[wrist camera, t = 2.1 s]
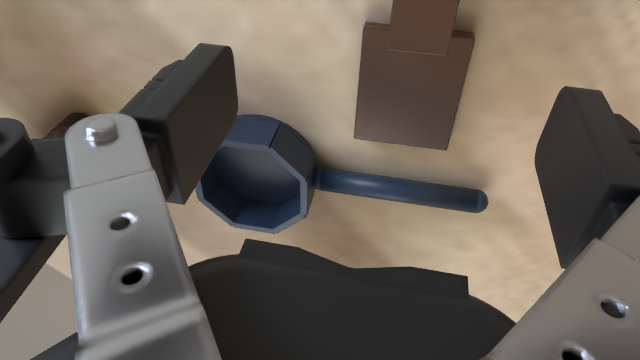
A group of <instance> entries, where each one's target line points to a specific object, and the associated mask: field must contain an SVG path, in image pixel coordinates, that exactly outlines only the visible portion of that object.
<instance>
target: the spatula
mask: <svg viewBox="0 0 640 360" xmlns="http://www.w3.org/2000/svg"><path fill="white" fill-rule="evenodd" d="M458 5H459V0H393V4H392V12H391V20H390V25H389V24H378V23H368V22H366V23H365V24H364V28H363V37H362V49H361V61H360V72H359V84H358V96H357V107H356V119H355V131H354V138H355V139H361V140H369V141H377V142H384V143H392V144H400V145H407V146H415V147H423V148H430V149H438V150H447V148H448V144H449V140H450V136H451V132H452V128H453V124H454V120H455V116H456V112H457V108H458V104H459V100H460V96H461V92H462V88H463V84H464V80H465V76H466V73H467V69H468V65H469V61H470V57H471V53H472V49H473V45H474V41H475V37H474V33H471V32H461V31H453V28H454V23H455V19H456V14H457V9H458Z"/></svg>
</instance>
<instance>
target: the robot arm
mask: <svg viewBox="0 0 640 360" xmlns="http://www.w3.org/2000/svg"><path fill="white" fill-rule="evenodd" d="M237 110H238V97H237V87H236V77H235V67H234V57H233V52H232V49H231V48H230V47H229V46H222V45H213V44H204V43H200V44H198V45H197V46H196V47H195V48H194V50H193V51H192V52H191V53H190V54H189V55H188V56H187V57H186V58H185V59H184V60H178V61H176V62H174V63H172V64H170V65H168V66H166V67H164V68H162V69H161V70H160V71H159V72H158V73H157V74H156V75H155V76H154V77H153V78H152V81H151V80H150V81H149V82H148V83H147V84H146V85H145V86H144V89H141V90H140V91H139V92H138V93H137V94H136V95H135V96H134V97H133V98H132V99H131V100H130V101H129V102H128V103H127V104H126V105H125V107H124V108H123V109H122V110H121V111H120V112H119V113H102V114H97V115H93V116H89V117H87V118H84V119H82V120H80V121H78V122H76V123H75V124H74V125H72V126H71V127H70V128H69V129H68V130H67V132H66V134H65V138H50V139H33V140H30V138H29V135H28V133H27V131H26V129H25V127H24V125H23V124H22V123H21V122H20V121H18V120H15V119H10V118H0V323H1V321H2V320H3V319H4V317H5V316H6V315H7V313H8V312H9V311H10V309H11V308H12V306H13V305H14V304H15V303H16V301H17V300H18V299H19V297H20V296H21V295H22V293H23V292H24V291H25V289H26V288H27V287H28V285H29V284H30V283H31V281H32V280H33V279H34V277H35V276H36V274H37V273H38V272H39V271H40V269H41V268H42V267H43V265H44V264H45V263H46V261H47V260H48V259H49V257H50V256H51V255H52V253H53V252H54V251H55V249H56V248H57V247H58V245H59V244H60V243H61V241H62V240H63V239H64V237H65V236H66V234H67V235H68V245H69V254H70V264H71V273H72V282H73V290H74V291H73V292H74V301H75V311H76V320H77V330H78V332H76V333H74V334H73V335H71V336H69V337H68V338H66V339H64V340H62V341H61V342H59V343H57V344H56V345H54V346H52V347H51V348H49V349H47V350H46V351H44V352H42V353H41V354H39V355H37V356H35V357H34V358H32V359H30V360H640V132H639V130H638V128H637V127H635V126H634V125H633V124H632V123H630V122H629V121H628V120H627V119H625V118H624V117H623V116H622V115H620V114H614V113H613V112H612V110H611V108H610V106H609V104H608V102H607V100H606V99H605V97H604V95H603V93H602V92H601V91H600V90H593V89H584V88H576V87H567V86H565V87H563V88H562V89H561V91H560V92H559V94H558V96H557V98H556V100H555V103H554V105H553V108H552V110H551V112H550V115H549V117H548V120H547V122H546V124H545V127H544V129H543V132H542V134H541V136H540V139H539V141H538V144H537V148H536V153H535V168H536V172H537V176H538V180H539V184H540V187H541V191H542V195H543V199H544V203H545V207H546V211H547V215H548V219H549V223H550V226H551V230H552V234H553V238H554V242H555V246H556V250H557V254H558V258H559V262H560V265H561V268H564V269H566V270H565V271H564V272H563V273H562V274H561V275H560V276H559V277H558V278H557V280H556V281H555V282H554V283H553V284H552V285H551V286H550V287H549V288H548V289H547V291H546V292H545V293H544V294H543V295H542V296H541V297H540V298H539V299H538V300H537V301H536V303H535V304H534V305H533V306H532V307H531V308H530V309H529V310H528V311H527V312H526V314H525V315H524V316H523V317H522V318H521V319H520V320H519V321H518V322H517V323H515V322H514V321H513V320H511V319H510V318H509V317H508V316H506V315H505V314H504V313H502V312H501V311H499V310H498V309H496V308H494V307H493V306H491V305H490V304H488V303H486V302H484V301H482V300H480V299H478V298H476V297H473V296H471V295H469V292H468V276H463V275H457V274H451V273H445V272H439V271H433V270H427V269H422V268H416V267H385V268H349V267H346V266H343V265H341V264H338V263H336V262H333V261H331V260H328V259H326V258H323V257H321V256H318V255H316V254H313V253H311V252H308V251H306V250H303V249H301V248H298V247H293V246H287V245H281V244H275V243H270V242H264V241H258V240H252V239H245V242H244V244H243V246H242V249H241V251H240V253H239V254H237V255H227V256H220V257H216V258H211V259H207V260H204V261H202V262H199V263H196V264H193V265H191V266H189V267H188V265H187V262H186V259H185V256H184V253H183V250H182V248H181V245H180V242H179V239H178V236H177V233H176V230H175V227H174V224H173V221H172V218H171V216H170V213H169V210H168V207H167V204H166V202H171V203H177V204H183V205H185V203H186V201H187V200H188V198H189V196H190V195H191V193H192V192H193V190H194V188H195V187H196V185H197V183H198V182H199V180H200V178H201V177H202V175H203V174H204V172H205V170H206V169H207V167H208V165H209V164H210V162H211V161H212V159H213V157H214V156H215V154H216V152H217V151H218V149H219V147H220V146H221V144H222V143H223V141H224V139H225V138H226V136H227V134H228V133H229V131H230V129H231V128H232V126H233V125H234V123H235V120H236V116H237Z"/></svg>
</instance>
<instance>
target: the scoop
mask: <svg viewBox="0 0 640 360" xmlns="http://www.w3.org/2000/svg"><path fill="white" fill-rule="evenodd" d="M195 189H196V194H197V198H198V199H199V201H200V202H202V203H203V204H204V205H205V206H207V207H208V208H209V209H210V210H212V211H213V212H214V213H215V214H217V215H218V216H219V217H220V218H222V219H223V220H224V221H225V222H227V223H228V224H229V225H230V226H233V227H235V228H241V229H247V230H253V231H259V232H266V233H272V234H275V233H279V232H280V231H282V230H284V229H286V228H287V227H289V226H291V225H293V224H295V223H296V222H298V221H300V220H302V219H303V218H305V217H306V216H307V215H308V211H309V208H310V205H311V202H312V198H313V195H314V192H315V189H317V190H321V191H328V192H335V193H342V194H349V195H355V196H362V197H369V198H376V199H383V200H390V201H396V202H403V203H410V204H417V205H424V206H430V207H437V208H444V209H451V210H458V211H465V212H471V213H480V212H482V211H484V210H485V209H486V207H487V205H488V197H487V195H486V194H485V193H484V192H483V191H481V190H477V189H470V188H463V187H456V186H448V185H441V184H434V183H427V182H420V181H413V180H406V179H398V178H391V177H384V176H377V175H370V174H363V173H356V172H348V171H341V170H334V169H327V168H318V169H317V162H316V158H315V155H314V153H313V151H312V149H311V147H310V146H309V144H308V143H307V141H306V140H305V139H304V138H303V137H302V136H301V135H300V134H299V133H298V132H297V131H296V130H294V129H293V128H291V127H290V126H288V125H287V124H285V123H283V122H281V121H278V120H276V119H273V118H270V117H267V116H261V115H242V116H237V117H236V120H235V123H234V125H233V126H232V128H231V129H230V131H229V133H228V134H227V136H226V138H225V139H224V141H223V143H222V144H221V146H220V147H219V149H218V151H217V152H216V154H215V156H214V157H213V159H212V161H211V162H210V164H209V165H208V167H207V169H206V170H205V172H204V174H203V175H202V177H201V178H200V180H199V182H198V183H197V185H196V187H195Z"/></svg>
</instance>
